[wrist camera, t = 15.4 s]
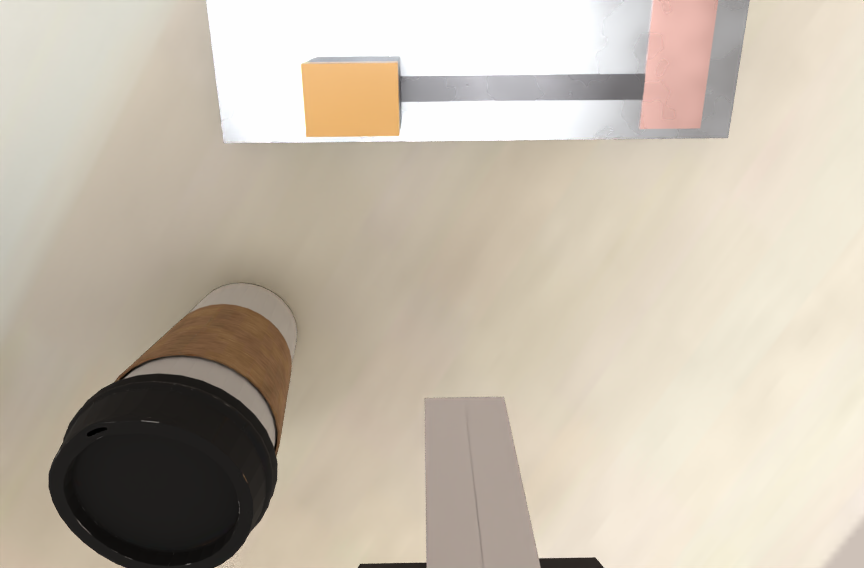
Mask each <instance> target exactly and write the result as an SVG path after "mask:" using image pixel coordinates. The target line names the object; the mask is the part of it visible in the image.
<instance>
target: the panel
mask: <svg viewBox="0 0 864 568" xmlns="http://www.w3.org/2000/svg"><path fill="white" fill-rule="evenodd" d="M749 1H750V0H206V2H207V11H208V19H209V27H210V35H211V43H212V51H213V59H214V67H215V76H216V84H217V92H218V100H219V108H220V116H221V124H222V132H223V141H224V143H283V142H379V141H475V140H571V139H667V138H728V135H729V128H730V122H731V115H732V109H733V103H734V96H735V90H736V84H737V77H738V71H739V64H740V58H741V52H742V45H743V39H744V32H745V26H746V20H747V13H748V7H749ZM314 57H400V72H401V114H402V123H401V129H400V135H399V136H362V137H306V128H305V115H304V102H303V89H302V76H301V63H303V62H306V61H308V60H310V59H312V58H314Z"/></svg>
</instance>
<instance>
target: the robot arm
mask: <svg viewBox="0 0 864 568" xmlns="http://www.w3.org/2000/svg"><path fill="white" fill-rule="evenodd" d="M425 470H426V558H427V563H382V564H360V565H359V567H358V568H604V567H603V566H602V565H601V564H600V563H599V561H598V560H597V559H596V558H541V559H539V558H538V553H537V548H536V544H535V539H534V534H533V530H532V525H531V521H530V516H529V511H528V507H527V502H526V497H525V493H524V488H523V483H522V479H521V474H520V469H519V465H518V460H517V455H516V451H515V446H514V442H513V437H512V432H511V428H510V423H509V418H508V414H507V409H506V404H505V400H504V397H461V398H425Z"/></svg>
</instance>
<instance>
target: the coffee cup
mask: <svg viewBox="0 0 864 568" xmlns="http://www.w3.org/2000/svg"><path fill="white" fill-rule="evenodd" d="M296 342H297V327H296V321H295V319H294V316H293V314H292V312H291V310H290V309H289V307H288V306H287V305H286V303H285V302H284V301H283V300H282V299H281V298H280V297H278V296H277V295H276V294H274V293H273V292H271V291H269V290H267V289H265V288H263V287H261V286H257V285H253V284H246V283H235V284H229V285H225V286H221V287H219V288H217V289H216V290H214V291H212V292H211V293H210V294H208V295H207V296H206V297H205V298H204V299H202V300H201V301H200V302H199V303H198V304H197V305H196V306H195V307H194V308H193V309H192V310H191V311H190V312H189V313H188V314H187V315H186V316H185V317H184V318H183V319H181V320H180V321H179V322H178V323H177V324H176V325H175V326H174V327H173V328H171V329H170V330H169V331H168V332H167V333H166V334H165V335H164V336H163V337H162V338H161V339H159V340H158V341H157V342H156V343H155V344H154V345H153V346H152V347H151V348H150V349H148V350H147V351H146V352H145V353H144V354H143V355H142V356H141V357H140V358H139V359H138V360H136V361H135V362H134V363H133V364H132V365H131V366H130V367H129V368H128V369H127V370H125V371H124V372H123V373H122V374H121V375H120V376H119V377H118V378H117V380H116V381H115V382H114V383H112V384H110V385H108V386H106V387H104V388H102V389H101V390H100V391H98V392H97V393H96V394H95V395H94V396H92V397H91V398H90V399H89V400H87V402H86V403H85V404H84V406H83V407H82V408H81V409H80V410H79V411H78V413H77V414H76V415H75V417H74V418H73V419H72V421H71V422H70V424H69V426H68V429H67V431H66V434H65V436H64V439H63V443H62V445H61V447H60V449H59V451H58V453H57V454H56V456H55V458H54V460H53V462H52V465H51V468H50V471H49V490H50V494H51V497H52V501H53V503H54V505H55V507H56V509H57V511H58V513H59V515H60V517H61V518H62V519H63V520H64V522H65V523H66V524H67V526H68V527H69V528H70V530H71V531H72V532H73V533H74V534H75V535H76V536H77V537H78V538H80V539H81V540H82V541H83V542H84V543H85V544H86V545H88V546H89V547H90V548H92V549H93V550H94V551H96V552H97V553H98V554H100V555H102V556H103V557H105V558H107V559H109V560H110V561H112V562H114V563H116V564H118V565H121V566H123V567H126V568H214V567H217V566H219V565H221V564H222V563H224V562H225V561H226V560H228V559H229V558H231V557H232V556H233V555H234V554H235V553H236V552H237V551H238V550H239V548H240V547H241V546H242V545H243V544H244V542H245V540H246V539H247V537H248V535H249V533H250V532H251V531H252V530H253V528H254V527H255V526H256V525H257V524H258V523H259V522H260V521H261V519H262V517H263V515H264V513H265V512H266V510H267V508H268V506H269V502H270V499H271V497H272V496H273V493H274V489H275V485H276V482H277V459H276V456H277V452H278V448H279V444H280V438H281V432H282V426H283V419H284V413H285V407H286V401H287V395H288V388H289V382H290V376H291V366H292V361H293V357H294V352H295V347H296Z"/></svg>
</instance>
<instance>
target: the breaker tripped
mask: <svg viewBox="0 0 864 568" xmlns="http://www.w3.org/2000/svg"><path fill="white" fill-rule="evenodd" d="M301 76H302V89H303V102H304V115H305V128H306V137H362V136H399V135H400V129H401V123H402V114H401V72H400V57H314V58H312V59H310V60H308V61H306V62H303V63H301Z"/></svg>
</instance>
